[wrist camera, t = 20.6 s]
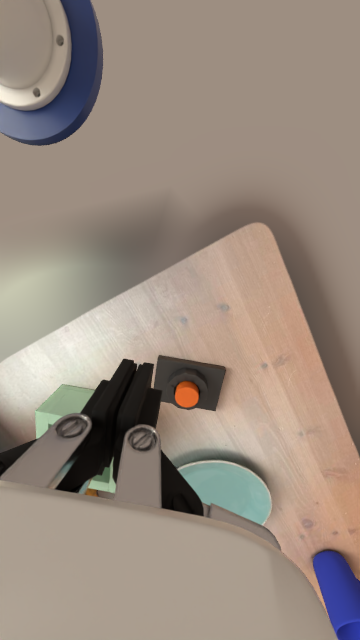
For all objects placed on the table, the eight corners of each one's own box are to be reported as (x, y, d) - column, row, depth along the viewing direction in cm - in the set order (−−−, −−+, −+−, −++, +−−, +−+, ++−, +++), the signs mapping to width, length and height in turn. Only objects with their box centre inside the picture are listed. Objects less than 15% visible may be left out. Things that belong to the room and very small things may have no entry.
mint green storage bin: (62, 444, 44) (38, 478, 37) (62, 384, 39) (34, 410, 33) (131, 457, 43) (120, 494, 37) (138, 397, 39) (127, 427, 32)
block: (153, 395, 39) (149, 407, 36) (159, 355, 36) (155, 363, 33) (214, 406, 39) (216, 418, 36) (224, 366, 36) (227, 376, 33)
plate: (285, 464, 41) (292, 479, 38) (246, 538, 48) (249, 555, 45) (170, 435, 41) (169, 448, 38) (148, 513, 48) (145, 529, 45)
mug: (344, 580, 50) (379, 658, 40) (299, 560, 49) (324, 635, 39) (370, 562, 47) (414, 640, 38) (323, 540, 46) (357, 615, 37)
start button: (174, 398, 36) (173, 405, 34) (177, 379, 34) (176, 385, 33) (196, 402, 35) (196, 409, 34) (200, 383, 34) (200, 389, 33)
